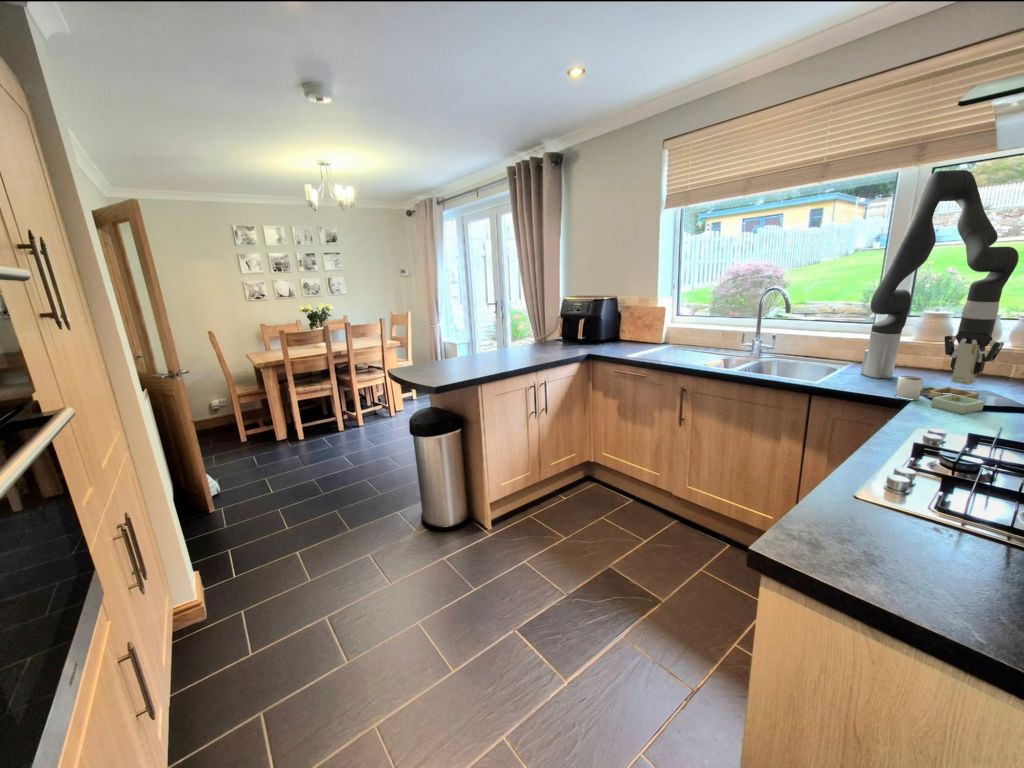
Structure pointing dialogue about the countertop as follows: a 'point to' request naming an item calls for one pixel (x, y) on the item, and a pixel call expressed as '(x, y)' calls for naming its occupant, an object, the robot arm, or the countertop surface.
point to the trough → (961, 409)
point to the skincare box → (965, 364)
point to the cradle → (939, 392)
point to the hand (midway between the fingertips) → (965, 371)
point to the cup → (909, 387)
